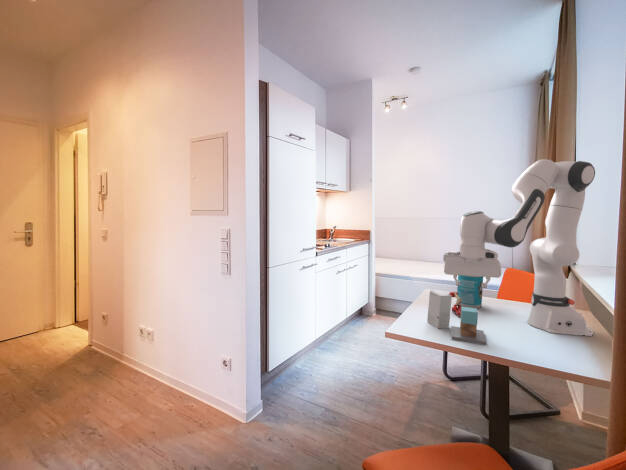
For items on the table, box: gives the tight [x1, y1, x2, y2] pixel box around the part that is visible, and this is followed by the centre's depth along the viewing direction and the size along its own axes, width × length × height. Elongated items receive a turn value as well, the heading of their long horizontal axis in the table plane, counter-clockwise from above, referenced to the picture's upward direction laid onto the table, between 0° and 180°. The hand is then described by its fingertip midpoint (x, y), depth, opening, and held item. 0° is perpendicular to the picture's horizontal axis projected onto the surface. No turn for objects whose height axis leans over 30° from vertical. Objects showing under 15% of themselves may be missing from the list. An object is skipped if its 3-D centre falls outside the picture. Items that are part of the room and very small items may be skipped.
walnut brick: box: [459, 321, 478, 337], centre depth 124 cm, size 6×6×5 cm
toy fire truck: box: [448, 291, 462, 319], centre depth 151 cm, size 3×14×10 cm, turn 179°
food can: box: [456, 275, 484, 309], centre depth 164 cm, size 12×12×18 cm
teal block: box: [460, 306, 479, 326], centre depth 123 cm, size 6×6×5 cm
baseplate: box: [450, 325, 487, 346], centre depth 124 cm, size 12×12×1 cm
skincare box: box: [426, 289, 453, 329], centre depth 136 cm, size 8×6×15 cm
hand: (471, 286), depth 123 cm, fingers open, 8 cm apart
